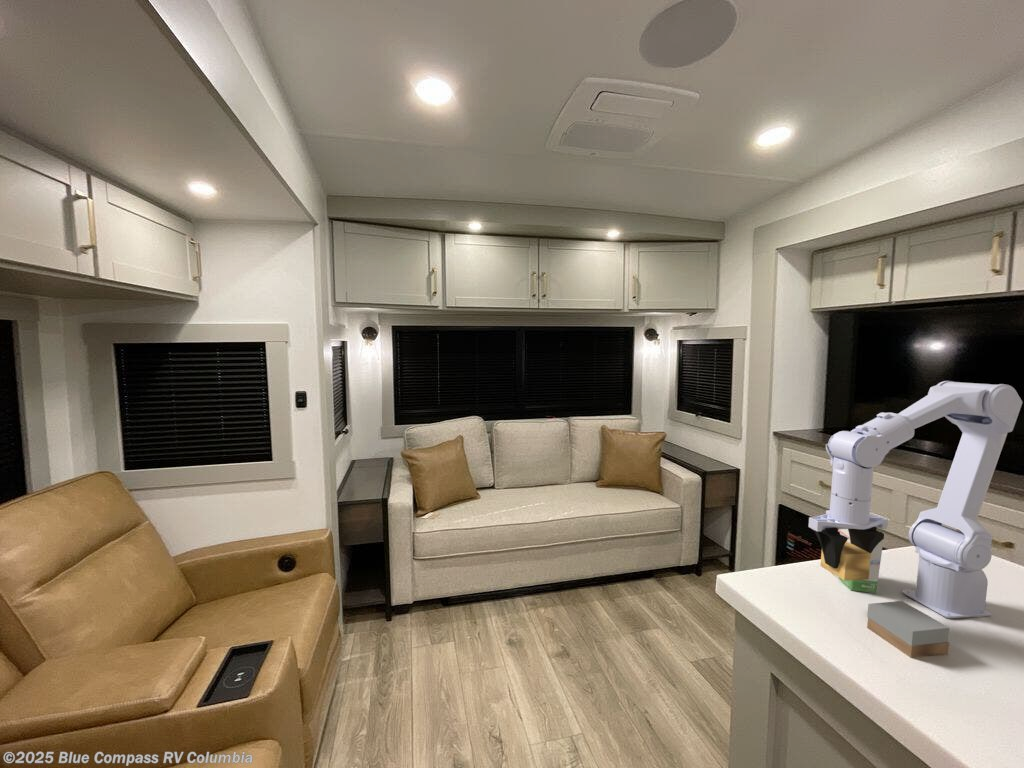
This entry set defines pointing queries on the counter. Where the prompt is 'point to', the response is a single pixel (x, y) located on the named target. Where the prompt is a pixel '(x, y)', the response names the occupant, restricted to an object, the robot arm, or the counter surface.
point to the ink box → (875, 560)
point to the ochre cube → (850, 563)
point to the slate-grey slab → (908, 623)
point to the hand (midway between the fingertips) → (844, 565)
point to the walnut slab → (905, 647)
